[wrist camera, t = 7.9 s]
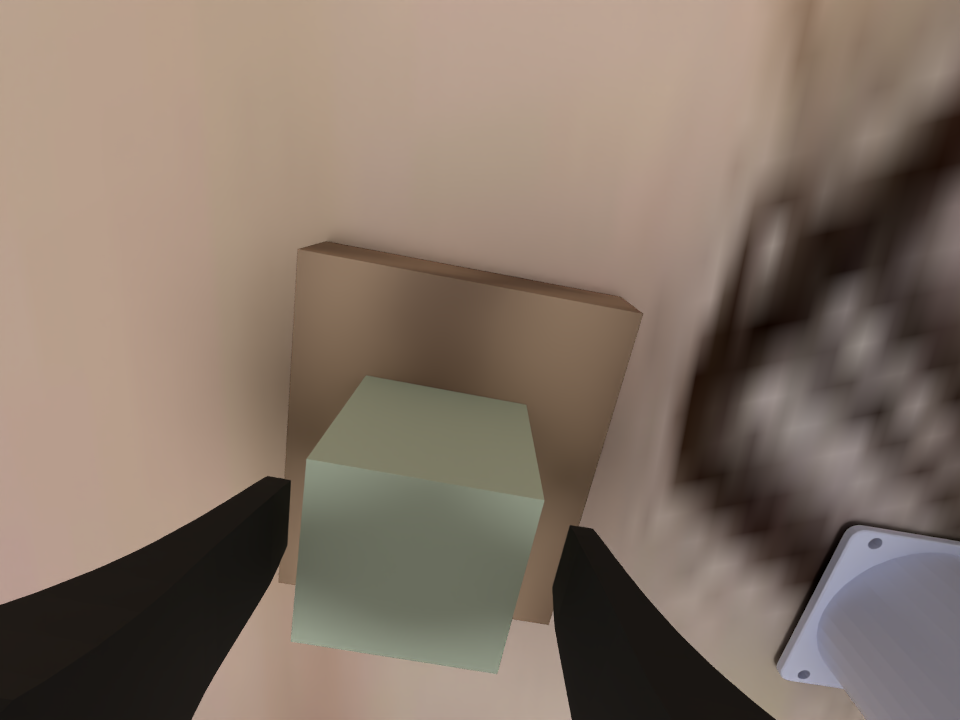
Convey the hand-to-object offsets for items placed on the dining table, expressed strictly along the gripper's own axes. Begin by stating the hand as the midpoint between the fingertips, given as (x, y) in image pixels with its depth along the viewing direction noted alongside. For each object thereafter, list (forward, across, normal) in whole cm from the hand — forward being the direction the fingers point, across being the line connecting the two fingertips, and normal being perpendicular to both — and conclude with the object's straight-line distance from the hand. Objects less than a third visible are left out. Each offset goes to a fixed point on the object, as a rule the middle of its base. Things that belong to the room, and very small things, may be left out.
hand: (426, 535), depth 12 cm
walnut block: (+6, 0, 0) cm, 6 cm away
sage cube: (+3, 0, 0) cm, 4 cm away
